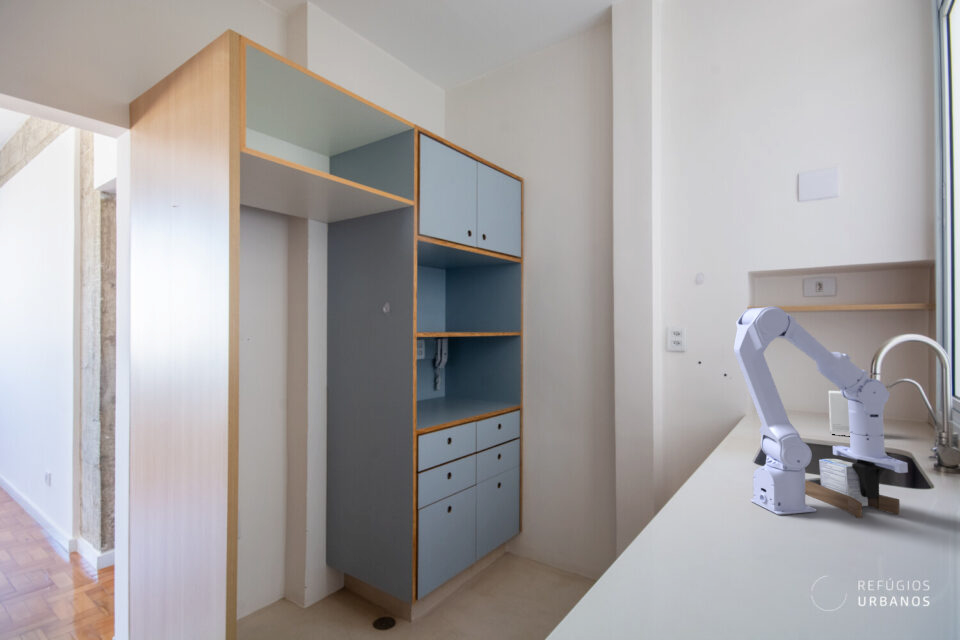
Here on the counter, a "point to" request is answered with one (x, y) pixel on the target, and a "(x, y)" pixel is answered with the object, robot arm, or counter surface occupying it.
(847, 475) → the medicine box
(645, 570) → the counter surface
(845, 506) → the guide channel
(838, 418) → the skincare box
